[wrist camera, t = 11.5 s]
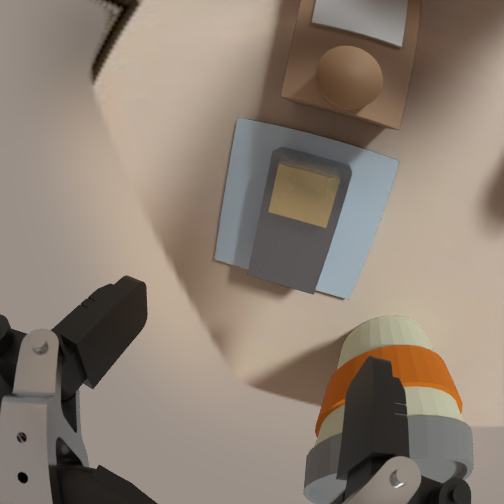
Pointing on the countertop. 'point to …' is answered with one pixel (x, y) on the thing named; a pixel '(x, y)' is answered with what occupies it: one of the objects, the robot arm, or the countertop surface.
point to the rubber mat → (353, 211)
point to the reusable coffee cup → (418, 405)
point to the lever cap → (298, 218)
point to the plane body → (354, 57)
